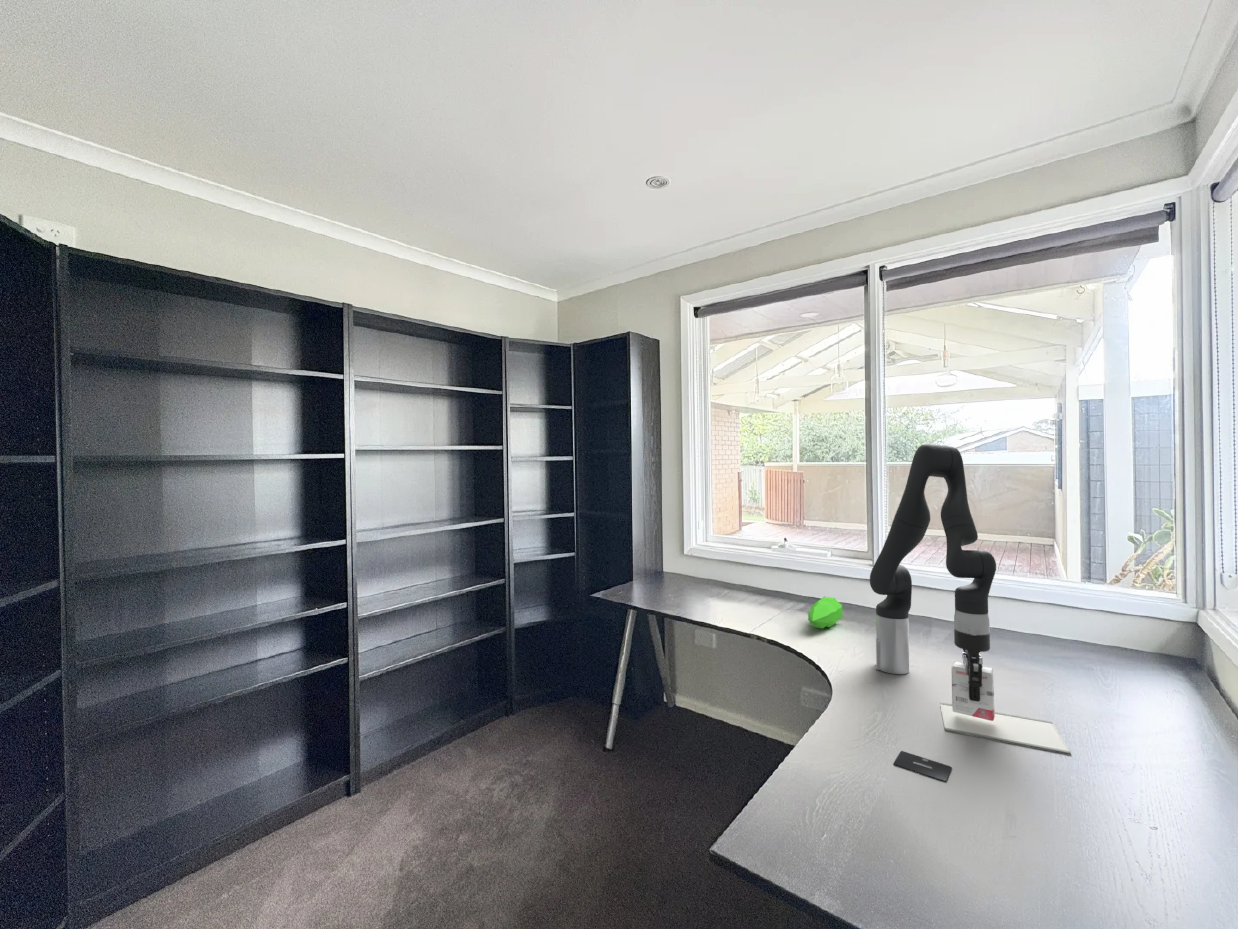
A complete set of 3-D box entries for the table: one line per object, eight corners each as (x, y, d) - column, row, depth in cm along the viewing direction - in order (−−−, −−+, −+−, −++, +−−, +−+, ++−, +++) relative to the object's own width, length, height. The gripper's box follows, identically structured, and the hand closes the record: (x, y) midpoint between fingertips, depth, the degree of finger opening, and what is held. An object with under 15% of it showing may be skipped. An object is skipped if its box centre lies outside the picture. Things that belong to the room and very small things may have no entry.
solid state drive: (901, 753, 119) (901, 750, 119) (952, 770, 113) (952, 766, 113) (893, 766, 114) (893, 763, 114) (946, 785, 107) (946, 781, 107)
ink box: (995, 715, 131) (994, 667, 131) (993, 722, 128) (992, 673, 128) (954, 705, 137) (953, 660, 137) (951, 712, 133) (951, 665, 133)
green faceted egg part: (841, 590, 222) (820, 603, 198) (852, 617, 219) (832, 633, 195) (815, 597, 228) (792, 610, 204) (826, 623, 225) (803, 639, 201)
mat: (945, 731, 128) (945, 728, 128) (940, 704, 142) (940, 702, 142) (1070, 755, 117) (1070, 753, 117) (1051, 723, 131) (1051, 721, 131)
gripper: (951, 619, 141) (952, 682, 140) (957, 635, 128) (958, 704, 128) (985, 623, 137) (986, 687, 137) (994, 639, 124) (995, 710, 124)
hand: (972, 695), depth 132 cm, fingers closed on ink box, 5 cm apart
